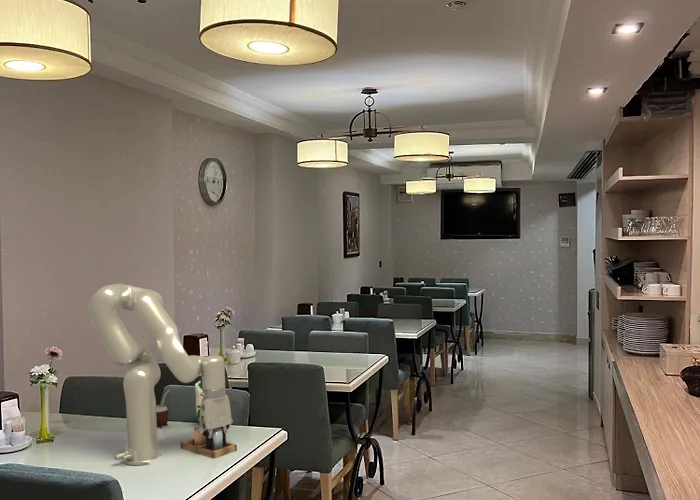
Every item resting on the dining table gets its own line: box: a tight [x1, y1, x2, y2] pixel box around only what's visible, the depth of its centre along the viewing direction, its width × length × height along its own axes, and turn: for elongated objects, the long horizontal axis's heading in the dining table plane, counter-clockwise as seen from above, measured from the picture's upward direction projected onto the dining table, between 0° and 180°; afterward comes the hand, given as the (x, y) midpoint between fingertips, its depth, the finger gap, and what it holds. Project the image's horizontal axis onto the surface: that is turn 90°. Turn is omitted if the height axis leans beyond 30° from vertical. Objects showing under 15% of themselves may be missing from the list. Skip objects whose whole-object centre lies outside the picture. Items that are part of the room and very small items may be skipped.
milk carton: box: [194, 376, 203, 426], centre depth 255 cm, size 9×9×20 cm
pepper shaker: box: [193, 424, 206, 446], centre depth 228 cm, size 4×4×7 cm
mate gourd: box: [156, 388, 172, 430], centre depth 260 cm, size 8×8×15 cm
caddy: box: [180, 438, 238, 459], centre depth 225 cm, size 10×18×3 cm, turn 49°
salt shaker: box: [211, 427, 223, 451], centre depth 222 cm, size 4×4×7 cm
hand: (216, 446), depth 222 cm, fingers closed on salt shaker, 4 cm apart
